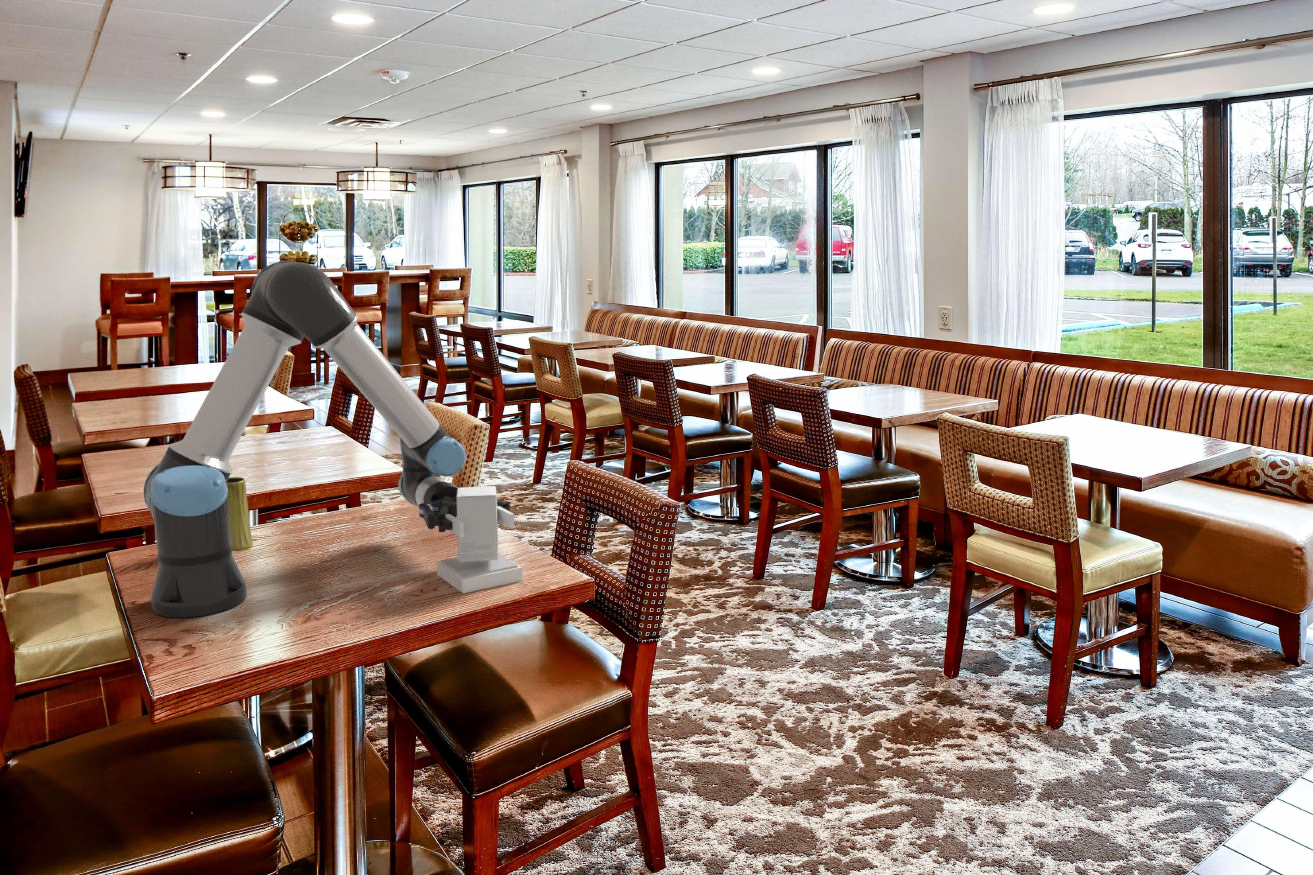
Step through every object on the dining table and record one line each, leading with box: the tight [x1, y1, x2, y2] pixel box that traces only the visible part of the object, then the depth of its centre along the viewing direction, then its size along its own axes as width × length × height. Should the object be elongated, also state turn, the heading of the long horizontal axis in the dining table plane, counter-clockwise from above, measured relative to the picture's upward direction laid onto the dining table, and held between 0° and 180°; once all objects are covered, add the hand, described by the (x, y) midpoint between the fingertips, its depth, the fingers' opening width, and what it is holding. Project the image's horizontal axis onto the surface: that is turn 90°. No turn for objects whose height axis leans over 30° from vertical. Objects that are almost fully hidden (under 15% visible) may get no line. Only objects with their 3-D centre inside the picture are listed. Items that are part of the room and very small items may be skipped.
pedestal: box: [436, 552, 523, 594], centre depth 179 cm, size 12×12×3 cm
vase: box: [226, 476, 254, 551], centre depth 196 cm, size 6×6×14 cm
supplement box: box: [456, 485, 499, 562], centre depth 177 cm, size 7×7×13 cm
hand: (487, 525), depth 173 cm, fingers closed on supplement box, 9 cm apart
